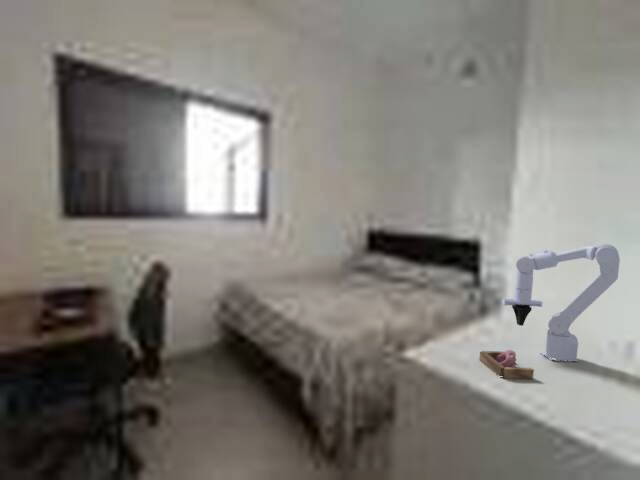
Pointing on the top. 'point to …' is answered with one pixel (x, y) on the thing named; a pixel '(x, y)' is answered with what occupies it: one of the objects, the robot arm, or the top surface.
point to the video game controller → (507, 358)
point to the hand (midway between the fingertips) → (519, 324)
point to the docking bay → (500, 370)
